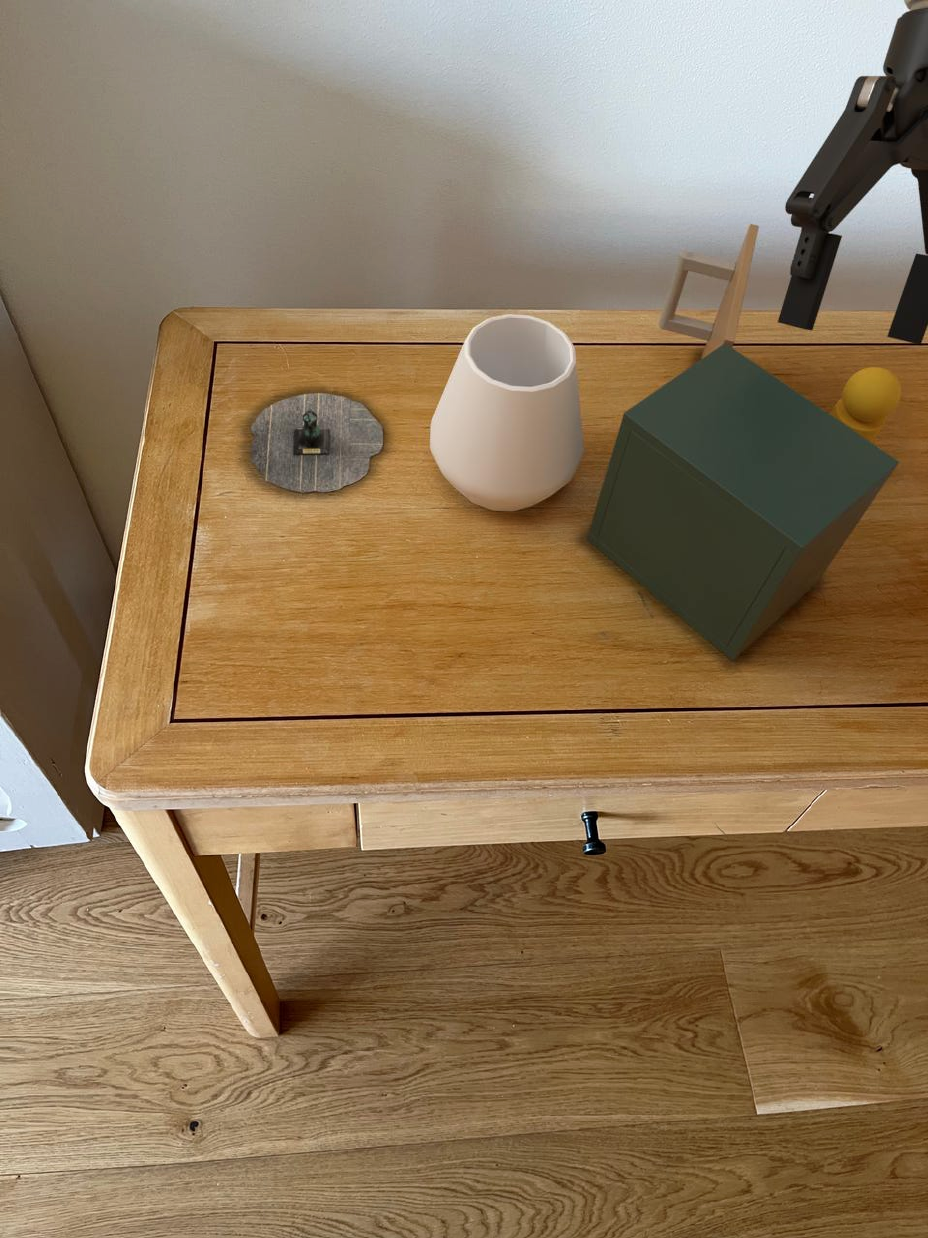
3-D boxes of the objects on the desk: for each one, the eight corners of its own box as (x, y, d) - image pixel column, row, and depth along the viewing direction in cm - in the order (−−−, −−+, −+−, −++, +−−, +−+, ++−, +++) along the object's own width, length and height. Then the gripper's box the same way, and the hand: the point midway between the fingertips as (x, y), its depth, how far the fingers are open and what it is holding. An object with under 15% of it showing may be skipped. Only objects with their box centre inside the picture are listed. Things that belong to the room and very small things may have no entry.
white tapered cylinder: (397, 481, 82) (398, 359, 70) (481, 396, 88) (495, 271, 76) (525, 556, 78) (549, 440, 67) (602, 461, 85) (637, 341, 73)
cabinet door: (621, 451, 85) (660, 322, 73) (652, 341, 94) (693, 209, 82) (684, 468, 85) (734, 341, 72) (710, 356, 93) (759, 225, 81)
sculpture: (291, 515, 79) (248, 429, 76) (263, 505, 87) (224, 427, 84) (408, 454, 83) (372, 369, 80) (371, 450, 91) (337, 373, 88)
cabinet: (674, 472, 85) (725, 342, 72) (818, 581, 79) (899, 461, 66) (586, 539, 80) (623, 412, 67) (732, 661, 74) (802, 548, 61)
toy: (863, 460, 87) (919, 372, 78) (843, 489, 85) (898, 401, 76) (819, 437, 88) (869, 347, 79) (798, 465, 86) (847, 376, 77)
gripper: (1003, 60, 73) (905, 336, 82) (795, -32, 60) (705, 309, 68) (1100, 59, 67) (984, 355, 76) (895, -43, 54) (782, 330, 63)
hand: (851, 334), depth 72 cm, fingers open, 13 cm apart
